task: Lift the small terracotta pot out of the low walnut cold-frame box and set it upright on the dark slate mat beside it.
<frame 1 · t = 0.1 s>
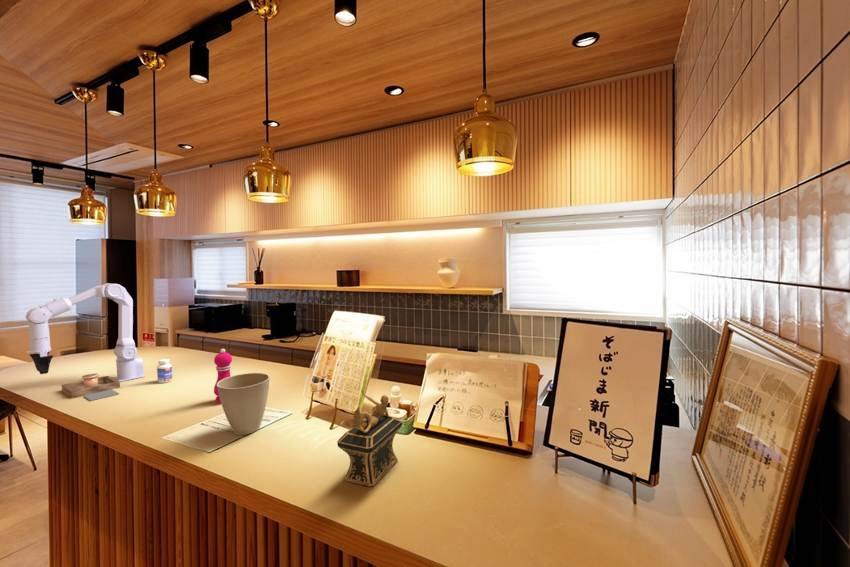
hand: (42, 372, 153), 10 cm above the worktop, tool pointing down, fingers open, 7 cm apart
pepper mill: (225, 401, 145), on the worktop
decorative box: (368, 474, 94), on the worktop
terracotta pot: (90, 382, 161), in the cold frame
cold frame: (91, 389, 162), on the worktop
pill bottle: (165, 381, 170), on the worktop
plant pot: (246, 430, 120), on the worktop
slate mat: (101, 395, 154), on the worktop
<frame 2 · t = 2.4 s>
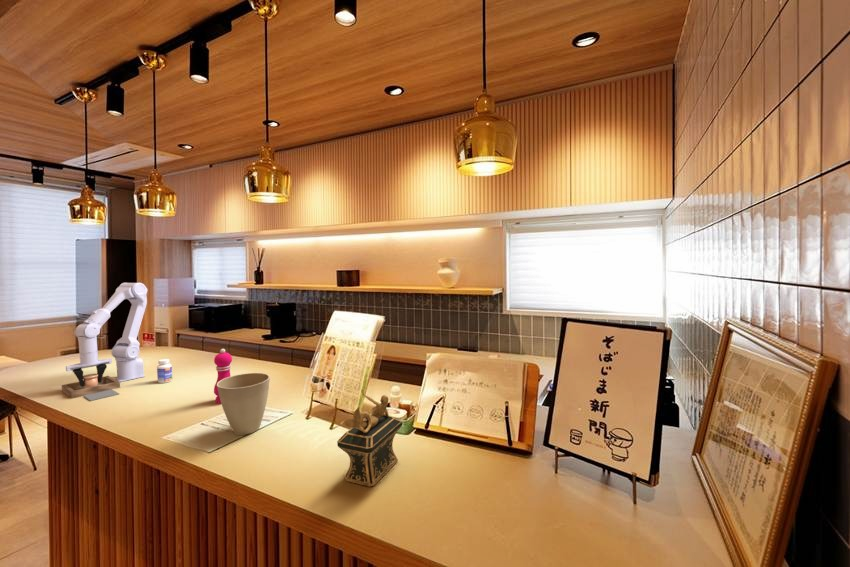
hand: (91, 384, 161), 2 cm above the worktop, tool pointing down, fingers closed on terracotta pot, 5 cm apart
terracotta pot: (90, 382, 161), in the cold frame, touching gripper
everything else where it was.
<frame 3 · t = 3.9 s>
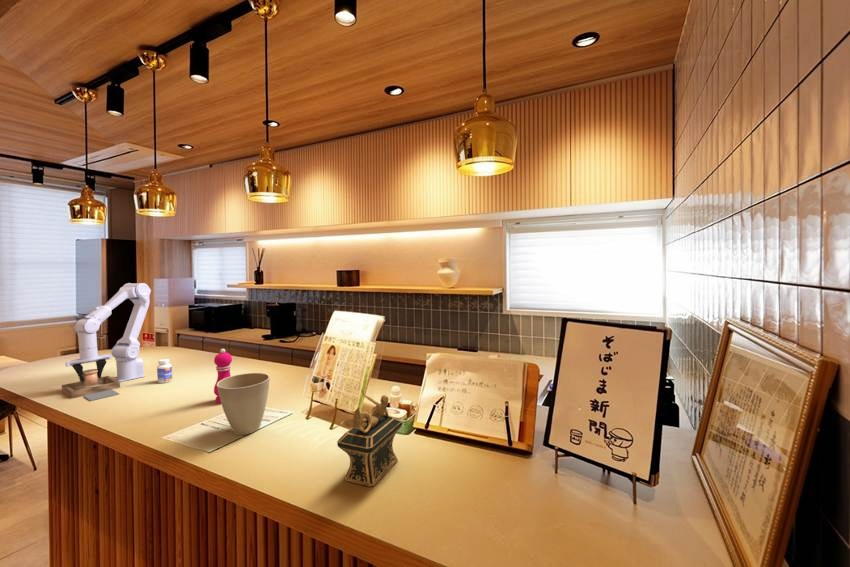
hand: (90, 379, 161), 4 cm above the worktop, tool pointing down, fingers closed on terracotta pot, 5 cm apart
terracotta pot: (90, 377, 161), point 5 cm above the worktop, touching gripper
everything else where it was.
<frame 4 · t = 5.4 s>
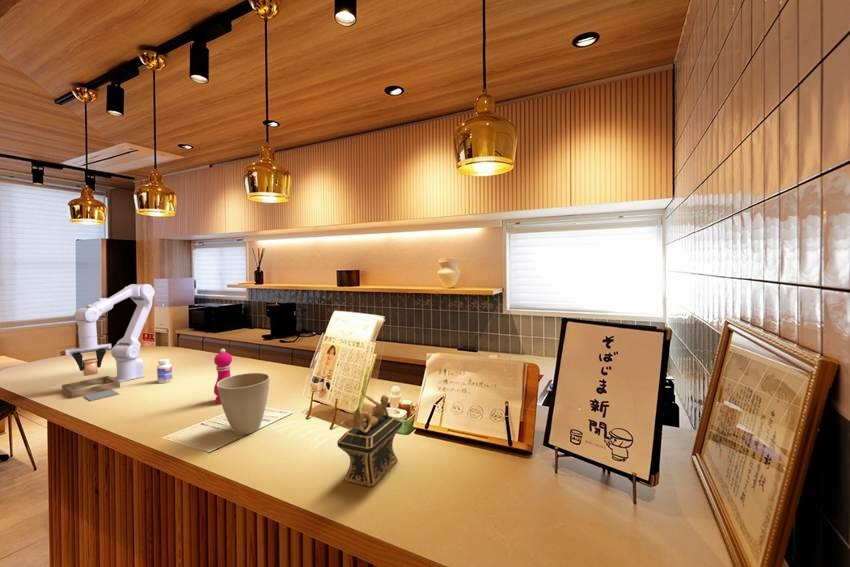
hand: (90, 368, 160), 9 cm above the worktop, tool pointing down, fingers closed on terracotta pot, 5 cm apart
terracotta pot: (90, 366, 160), point 10 cm above the worktop, touching gripper
everything else where it was.
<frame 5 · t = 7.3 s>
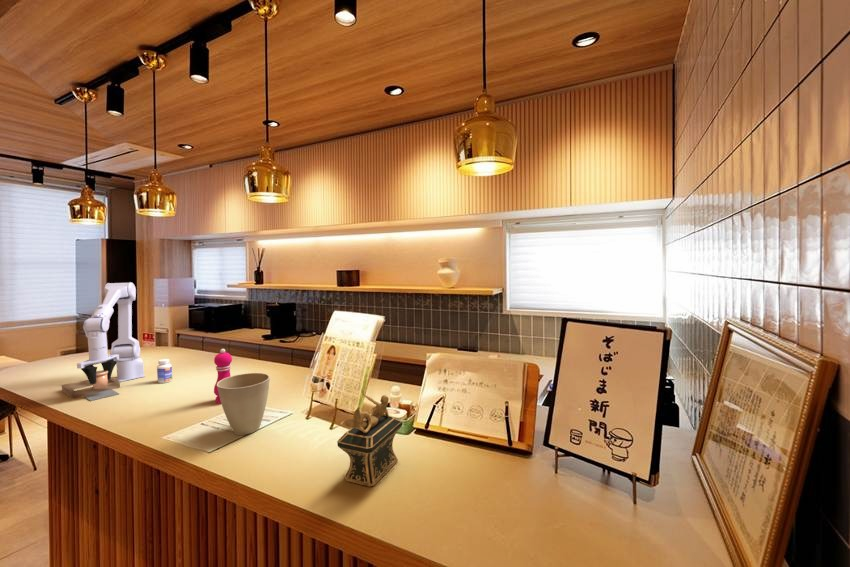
hand: (100, 381, 153), 6 cm above the worktop, tool pointing down, fingers closed on terracotta pot, 5 cm apart
terracotta pot: (100, 379, 153), point 7 cm above the worktop, touching gripper
everything else where it was.
when the fingers open (4 cm above the worktop, at t = 8.7 s): terracotta pot stays where it is, resting on slate mat.
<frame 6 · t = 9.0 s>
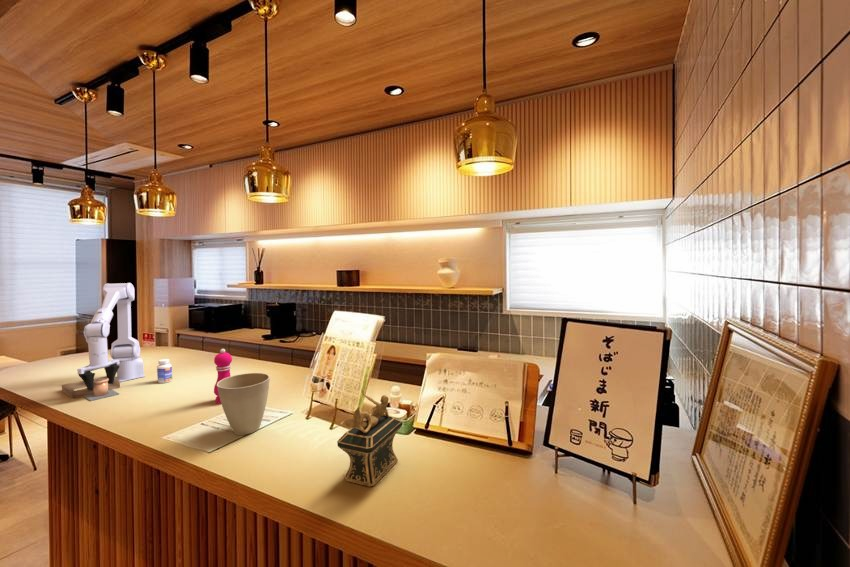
hand: (100, 386, 153), 4 cm above the worktop, tool pointing down, fingers open, 7 cm apart
terracotta pot: (100, 387, 153), on the slate mat
everything else where it was.
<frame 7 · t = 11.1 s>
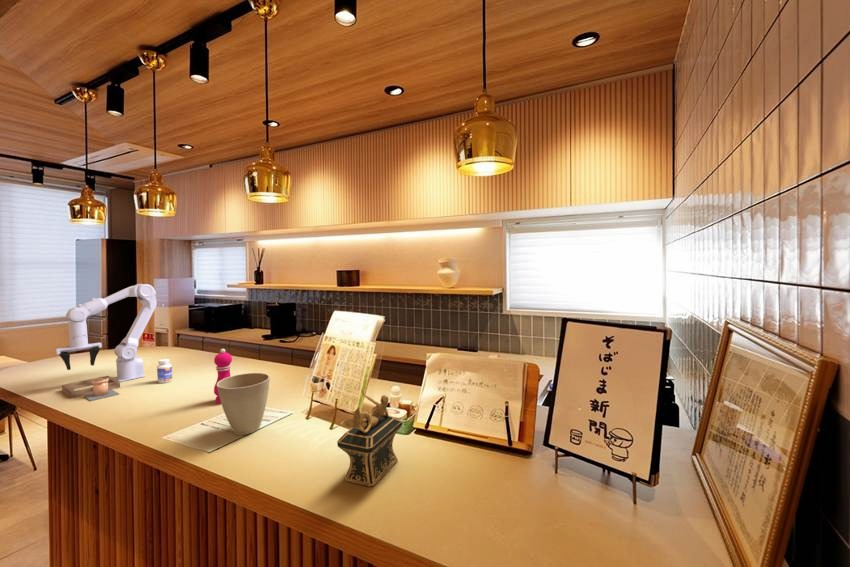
hand: (80, 367, 163), 9 cm above the worktop, tool pointing down, fingers open, 7 cm apart
nothing on the worktop moved.
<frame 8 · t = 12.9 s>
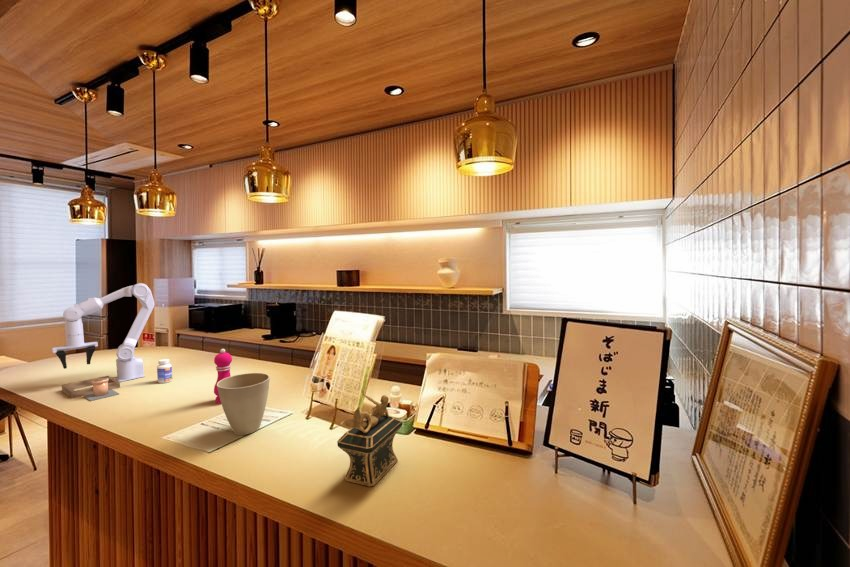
hand: (76, 366, 165), 9 cm above the worktop, tool pointing down, fingers open, 7 cm apart
nothing on the worktop moved.
at the end: terracotta pot 0.0 cm off-centre on the slate mat, point 3.4 cm above the slate mat's base; terracotta pot tilted 0°; the gripper is holding nothing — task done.
